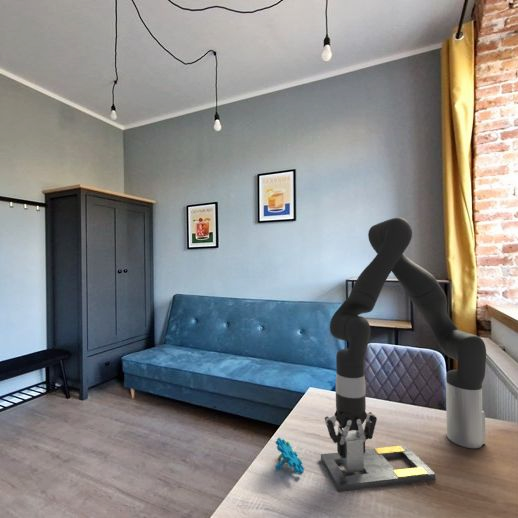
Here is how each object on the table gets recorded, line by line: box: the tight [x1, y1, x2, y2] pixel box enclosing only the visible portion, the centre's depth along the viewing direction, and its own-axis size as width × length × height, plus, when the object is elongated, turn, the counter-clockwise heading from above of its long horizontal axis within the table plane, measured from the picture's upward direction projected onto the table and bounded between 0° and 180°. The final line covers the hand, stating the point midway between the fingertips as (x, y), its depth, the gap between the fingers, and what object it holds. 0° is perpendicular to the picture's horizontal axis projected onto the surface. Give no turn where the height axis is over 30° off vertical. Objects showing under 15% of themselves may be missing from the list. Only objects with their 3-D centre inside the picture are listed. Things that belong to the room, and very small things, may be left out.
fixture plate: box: [320, 444, 436, 493], centre depth 82 cm, size 26×12×2 cm, turn 99°
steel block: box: [340, 430, 364, 474], centre depth 80 cm, size 4×4×8 cm
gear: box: [275, 437, 305, 475], centre depth 82 cm, size 11×6×10 cm
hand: (351, 454), depth 81 cm, fingers closed on steel block, 4 cm apart
